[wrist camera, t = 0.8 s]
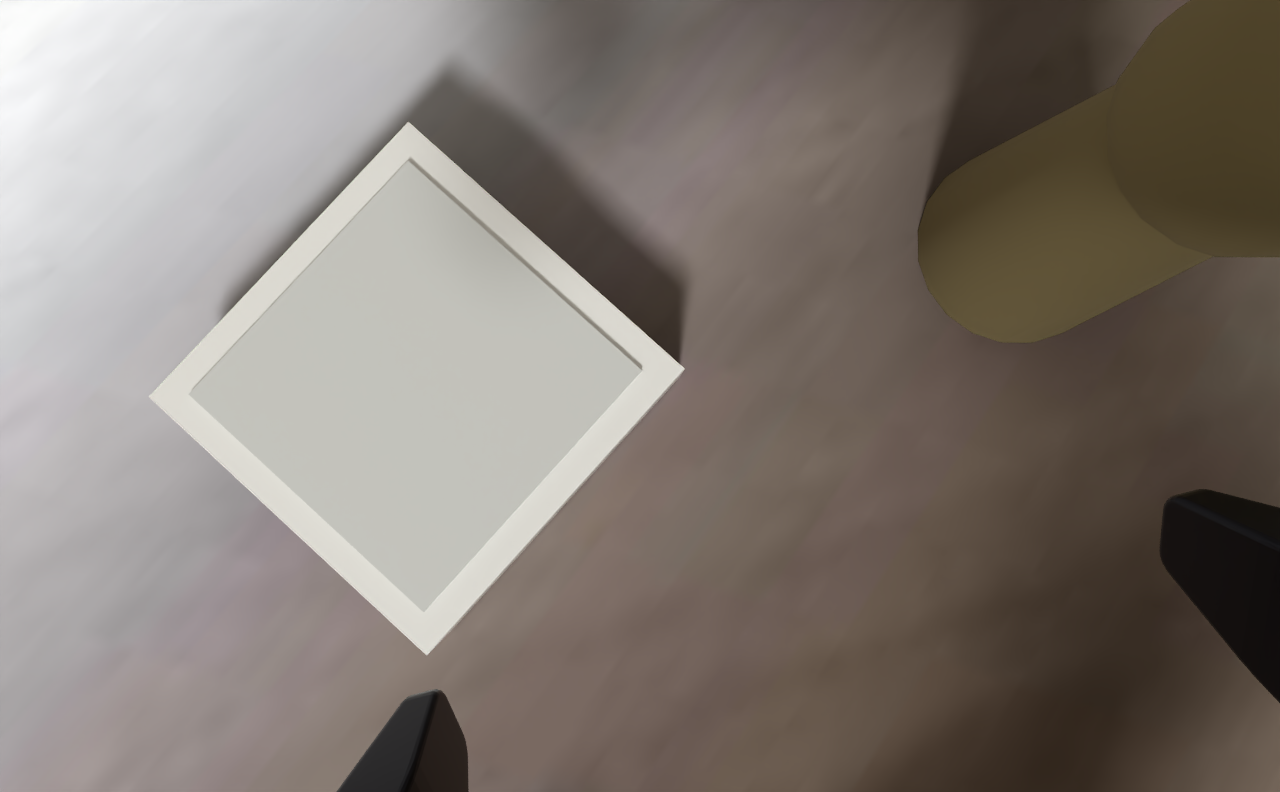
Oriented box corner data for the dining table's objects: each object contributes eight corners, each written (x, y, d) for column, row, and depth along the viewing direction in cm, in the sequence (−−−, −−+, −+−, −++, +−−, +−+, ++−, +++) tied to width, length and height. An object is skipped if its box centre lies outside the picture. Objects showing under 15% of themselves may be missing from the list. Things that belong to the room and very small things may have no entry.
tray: (678, 378, 23) (685, 368, 19) (455, 626, 22) (425, 657, 19) (438, 163, 23) (406, 119, 20) (213, 402, 22) (144, 396, 19)
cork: (969, 117, 23) (1270, -175, 12) (1144, 206, 23) (1609, -9, 12) (883, 287, 23) (1112, 145, 12) (1060, 378, 23) (1458, 319, 12)
